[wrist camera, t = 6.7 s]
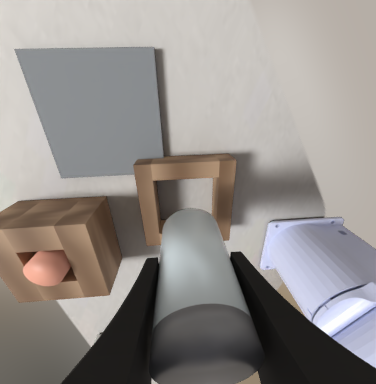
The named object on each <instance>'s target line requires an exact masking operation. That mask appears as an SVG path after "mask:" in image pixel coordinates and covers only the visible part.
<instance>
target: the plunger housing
mask: <svg viewBox="0 0 376 384" xmlns="http://www.w3.org/2000/svg"><path fill="white" fill-rule="evenodd" d="M49 250H64V251H65V254H66V256H67V258H68V260H69V263H70V265H71V267H70V269H69V271H68V272H67V274H66V275H65V277H64V278H63V280H62V281H61V282H60V283H59V284H57V285H54V286H41V285H37V284H35V283H33V282H31V281H29V280H28V279H27V278H26V277H25V275H24V273H23V268H24V266H25V265H26V264H27V263H28V262H29V261H30V259H31V258H32V257H33V256H34V255H35V254H36V253H37V252H38V251H49ZM121 261H122V255H121V251H120V248H119V244H118V240H117V236H116V232H115V228H114V224H113V220H112V217H111V213H110V209H109V205H108V201H107V197H106V196H102V197H84V198H66V199H48V200H30V201H18V202H16V203H15V204H13V205H11V206H10V207H8V208H6V209H5V210H3V211H1V212H0V277H1V278H2V279H3V281H4V282H5V283H6V285H7V286H8V288H9V289H10V291H11V292H12V294H13V295H14V296H15V298H16V299H17V301H18V302H19V303H22V302H34V301H46V300H58V299H71V298H83V297H95V296H107V295H110V292H111V289H112V287H113V284H114V281H115V278H116V275H117V272H118V269H119V266H120V263H121Z"/></svg>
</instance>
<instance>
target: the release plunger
mask: <svg viewBox="0 0 376 384" xmlns="http://www.w3.org/2000/svg"><path fill="white" fill-rule="evenodd" d="M70 267H71V265H70V263H69V260H68V258H67V256H66V254H65V251H64V250H49V251H38V252H37V253H36V254H35V255H34V256H33V257H32V258H31V259H30V261H29V262H28V263H27V264H26V265H25V266H24V268H23V273H24V275H25V277H26V278H27V279H28V280H29V281H31V282H33V283H35V284H37V285H41V286H54V285H57V284H59V283H60V282H61V281H62V280H63V278H64V277H65V275H66V274H67V272H68V271H69V269H70Z"/></svg>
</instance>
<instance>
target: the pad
mask: <svg viewBox="0 0 376 384" xmlns="http://www.w3.org/2000/svg"><path fill="white" fill-rule="evenodd" d="M14 50H15V52H16V55H17V58H18V61H19V63H20V66H21V69H22V71H23V74H24V77H25V80H26V82H27V85H28V88H29V91H30V93H31V96H32V99H33V102H34V104H35V107H36V110H37V113H38V115H39V118H40V121H41V124H42V126H43V129H44V132H45V135H46V137H47V140H48V143H49V146H50V148H51V151H52V154H53V157H54V159H55V162H56V165H57V168H58V170H59V173H60V176H61V178H75V177H95V176H115V175H135V174H134V168H133V165H134V163H135V162H136V161H137V159H157V158H164V151H163V140H162V129H161V118H160V107H159V95H158V84H157V73H156V62H155V50H154V47H114V48H50V49H14Z"/></svg>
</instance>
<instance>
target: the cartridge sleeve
mask: <svg viewBox="0 0 376 384" xmlns="http://www.w3.org/2000/svg"><path fill="white" fill-rule="evenodd" d="M236 161H237V160H235V159H234V158H233V157H232V156H231V155H230V154H210V155H188V156H166V157H164V158H157V159H137V161H136V162H135V163H134V165H133V168H134V174H135V180H136V186H137V191H138V197H139V203H140V209H141V215H142V221H143V227H144V233H145V239H146V244H147V246H154V245H161V240H162V230H163V226H164V224H165V222H166V220H161V216H160V207H159V198H158V189H157V181H156V180H176V179H195V178H213V196H212V216H213V217H214V218H215V220H216V222H217V224H218V227H219V230H220V232H221V235H222V238H223V241H226V240H229V236H230V226H231V215H232V204H233V193H234V182H235V171H236Z"/></svg>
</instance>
